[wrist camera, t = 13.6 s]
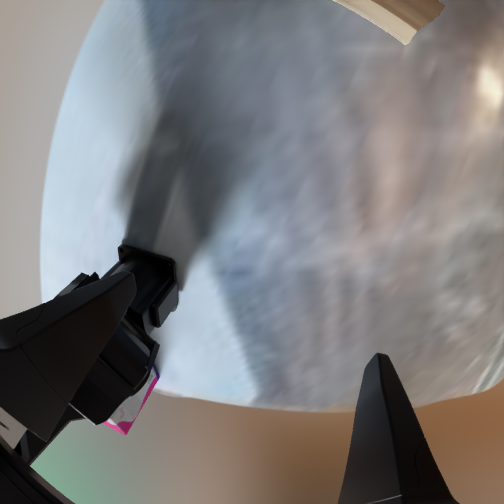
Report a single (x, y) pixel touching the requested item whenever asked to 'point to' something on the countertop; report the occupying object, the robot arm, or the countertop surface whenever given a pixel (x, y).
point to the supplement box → (132, 406)
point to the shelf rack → (396, 14)
